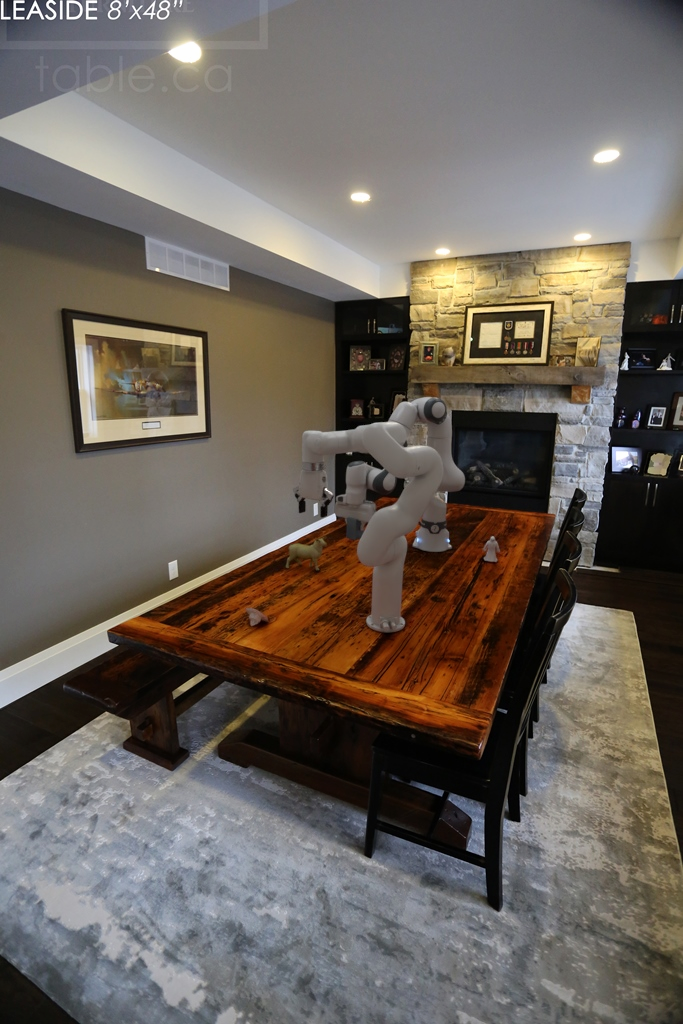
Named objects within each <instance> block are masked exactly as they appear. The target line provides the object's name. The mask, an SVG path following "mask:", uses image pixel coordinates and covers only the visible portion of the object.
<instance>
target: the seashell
mask: <svg viewBox="0 0 683 1024" xmlns="http://www.w3.org/2000/svg"><path fill="white" fill-rule="evenodd" d="M245 611H246V614H248V615H249V616H248V619H249V625H250V626H251V627H253V626H256V625H258V624H259V623H260V622H261V621H265V622H269V618H268V616H267V615H266V614H264V613H263V612H261V611H260V610H259V609H256V608H253V607H245Z"/></svg>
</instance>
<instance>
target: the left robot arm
mask: <svg viewBox="0 0 683 1024" xmlns="http://www.w3.org/2000/svg"><path fill="white" fill-rule="evenodd" d="M406 438H407V434H406V430H405V428H404V427H403V426H402V425H401V424H399V423H396V422H388V421H384V422H383V421H380V422H373V423H371V424H365V425H364V424H363V425H358V426H357V427H356V428H354V429H348V430H334V431H321V430H305V431H303V432H302V435H301V466H302V467H301V470H300V473H299V480H298V486H296V487H293V488H292V492H293V494H294V498H295V499H296V501H297V503H298V513H299V514H303V513H305V512H306V511H307V509H306V507H307V503H306V502H307V501H306V500H311V501H312V500H313V501H319V503H320V505H321V506H320V511H319V512H320V514H319V516H320V518H326V517H328V513H329V512H328V509H329V505H330V504H331V503H332V501H333V499H334V497H335V494H334V493H332V492H331V491H330V490H329V480H328V475H327V471H326V469H327V465H326V464H325V456H331V455H337V454H346V453H356V452H358V453H361V454H367V453H369V455H371V456H372V458H374V460H376V462H378V463H379V464H380V466H381V467H383V469H384V468H385V469H386V470H387V471H388V472H389V473H390V474H391V475H393V476H395V477H397V479H409V477H413V476H414V477H413V479H412V480H411V481H410V482H409V481H408V483H407V484H406V485H405V487H404V489H403V490H402V492H401V494H400V495H399V497H398V498H397V500H396V502H394V503H393V504H392V505H388V506H386V507H382V508H380V509H378V510H376V513H375V514H374V515H373V516H372V518H371V519H370V521H369V522H367V525H366V527H365V528H364V533H363V535H362V537H361V538H360V539H359V541H358V543H357V547H356V554H357V558H358V560H359V562H360V563H361V564H362V565H363V566H364V567H368V568H373V569H372V585H371V586H372V587H371V607H370V609H371V613H370V615H368V616H367V617H366V621H365V622H366V623H365V624H366V625H367V627H368V628H369V629H372V630H373V631H376V632H379V633H396V632H398V631H402V630H403V629H404V628H405V626H406V620H405V618H403V617H402V615H401V614H402V599H403V598H402V597H403V580H404V567H405V562H406V557H407V553H408V541H407V537H406V535H409V534H410V533H412V532H413V531H414V530H415V529H416V528H417V526H418V525H419V521H420V522H421V519H422V515H423V514H424V512H425V510H426V508H427V506H428V505H429V503H430V501H431V499H432V498H433V496H434V495H435V496H436V493H437V492H438V491H437V490H438V488H439V486H440V483H441V481H442V477H443V463H442V460H441V457H440V455H439V454H438V452H437V451H436V450H435V449H433V448H432V447H429V446H427V445H413V446H407V447H404V448H403V447H402V445H403V444H404V443H405V441H406Z"/></svg>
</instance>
